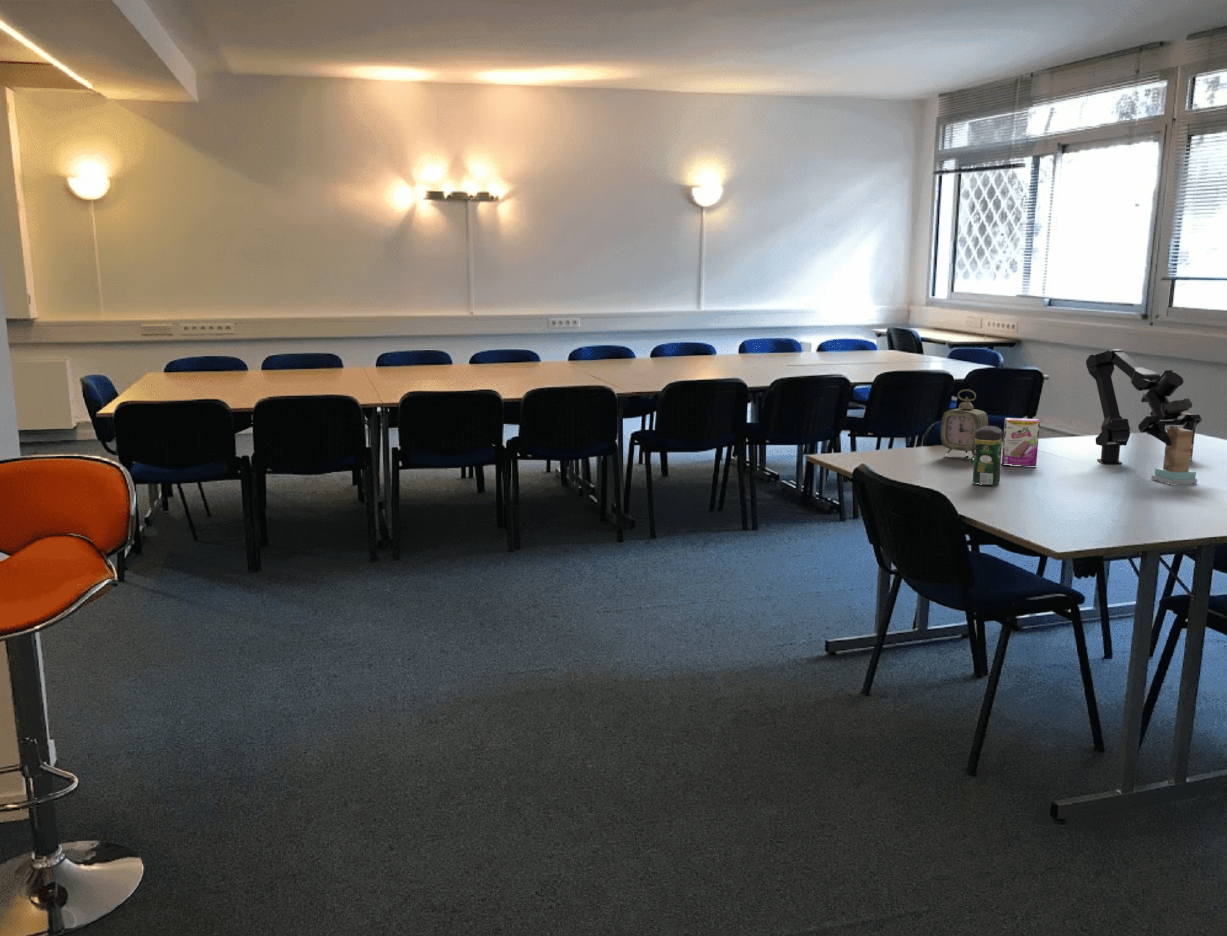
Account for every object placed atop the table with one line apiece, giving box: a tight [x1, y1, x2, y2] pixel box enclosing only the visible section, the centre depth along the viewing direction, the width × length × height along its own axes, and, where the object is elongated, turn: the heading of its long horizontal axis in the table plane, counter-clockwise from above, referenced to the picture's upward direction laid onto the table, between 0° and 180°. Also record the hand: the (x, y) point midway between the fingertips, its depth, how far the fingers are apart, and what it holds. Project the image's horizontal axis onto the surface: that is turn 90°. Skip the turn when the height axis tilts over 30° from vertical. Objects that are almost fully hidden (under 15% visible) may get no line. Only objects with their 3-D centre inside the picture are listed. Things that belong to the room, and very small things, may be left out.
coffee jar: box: [972, 425, 1004, 486], centre depth 311 cm, size 10×8×19 cm
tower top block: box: [1154, 467, 1197, 480], centre depth 311 cm, size 8×8×2 cm
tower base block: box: [1150, 474, 1198, 485], centre depth 311 cm, size 9×9×2 cm
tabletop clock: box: [940, 388, 989, 459], centre depth 352 cm, size 14×9×25 cm, turn 42°
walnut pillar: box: [1162, 428, 1193, 472], centre depth 309 cm, size 5×5×13 cm
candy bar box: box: [1001, 417, 1041, 467], centre depth 337 cm, size 11×5×16 cm, turn 71°
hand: (1181, 444), depth 307 cm, fingers open, 7 cm apart
